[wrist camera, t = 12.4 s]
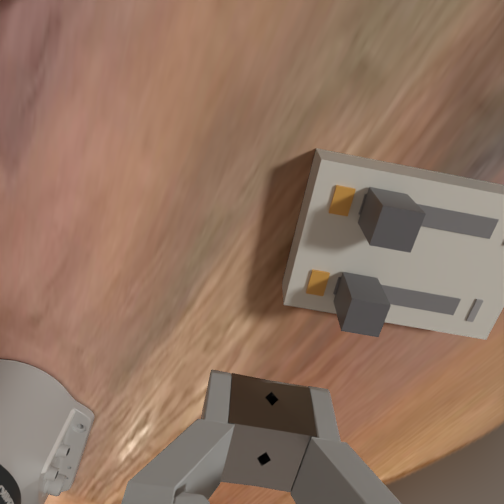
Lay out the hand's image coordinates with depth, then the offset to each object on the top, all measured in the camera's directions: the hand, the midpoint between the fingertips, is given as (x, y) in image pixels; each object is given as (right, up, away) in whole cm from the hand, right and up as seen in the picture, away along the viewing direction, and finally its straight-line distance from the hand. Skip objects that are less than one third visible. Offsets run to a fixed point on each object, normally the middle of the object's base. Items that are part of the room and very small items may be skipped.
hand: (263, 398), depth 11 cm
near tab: (+11, +7, +25) cm, 28 cm away
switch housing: (+14, +5, +30) cm, 34 cm away
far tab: (+9, 0, +28) cm, 30 cm away
